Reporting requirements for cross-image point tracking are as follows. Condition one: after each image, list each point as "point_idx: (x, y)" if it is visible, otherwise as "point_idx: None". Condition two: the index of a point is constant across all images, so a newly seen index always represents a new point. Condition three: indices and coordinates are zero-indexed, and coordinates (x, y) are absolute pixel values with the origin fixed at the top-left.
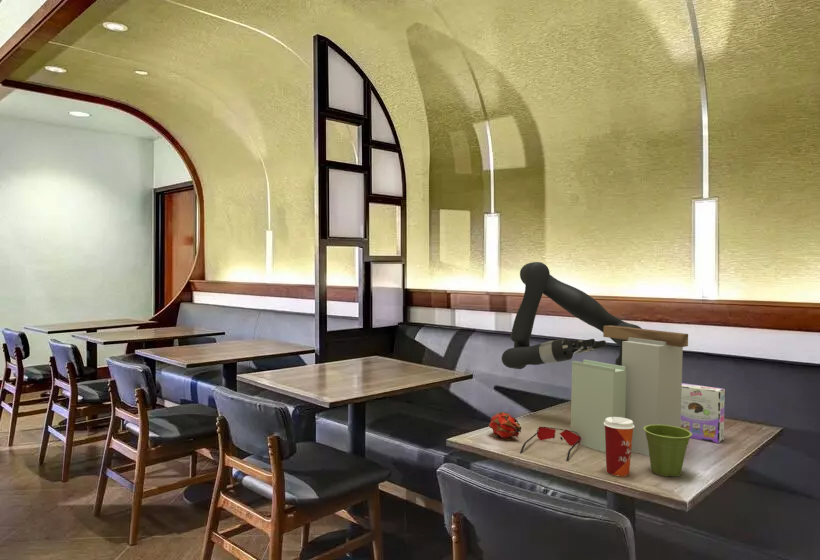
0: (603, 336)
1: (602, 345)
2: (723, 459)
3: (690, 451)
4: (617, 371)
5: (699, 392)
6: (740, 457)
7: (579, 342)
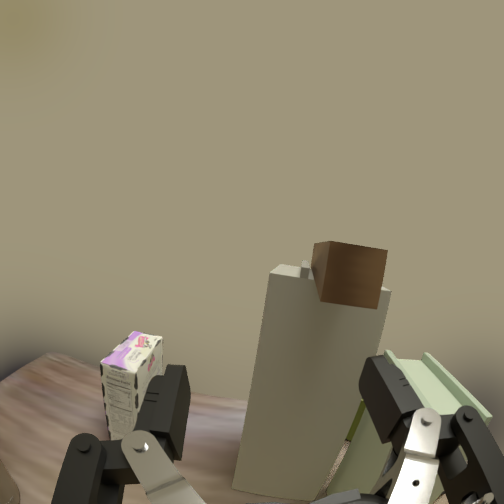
0: (376, 307)
1: (185, 403)
2: (240, 407)
3: (234, 434)
4: (412, 360)
5: (153, 357)
6: (215, 397)
7: (446, 417)
